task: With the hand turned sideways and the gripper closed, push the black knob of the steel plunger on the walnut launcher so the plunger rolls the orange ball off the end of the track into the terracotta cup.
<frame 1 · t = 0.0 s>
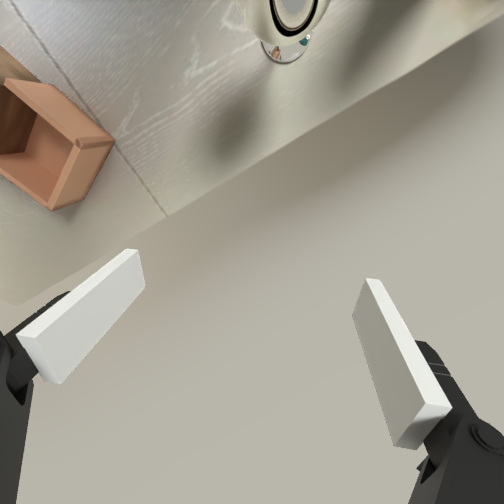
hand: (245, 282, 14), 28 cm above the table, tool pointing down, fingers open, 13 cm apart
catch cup: (70, 148, 40), on the table
wineglass: (286, 30, 30), on the table
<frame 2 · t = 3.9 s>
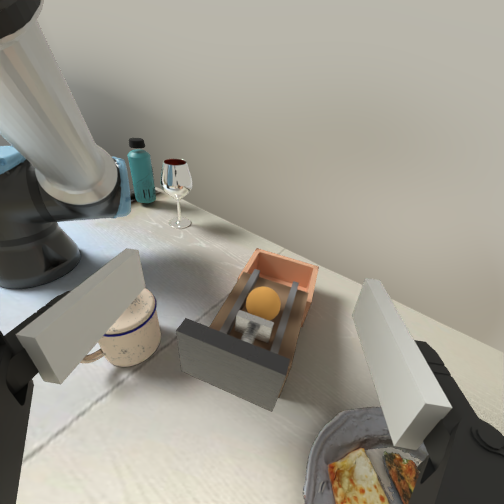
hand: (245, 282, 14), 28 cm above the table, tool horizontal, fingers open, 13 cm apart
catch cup: (274, 296, 52), on the table
launcher: (250, 358, 40), on the table
teacup with lid: (125, 349, 39), on the table
plunger: (244, 338, 26), point 14 cm above the table, slide at 0.0 cm
beverage bottle: (147, 203, 80), on the table
ball: (263, 303, 34), point 11 cm above the table, touching launcher
wineglass: (180, 223, 72), on the table
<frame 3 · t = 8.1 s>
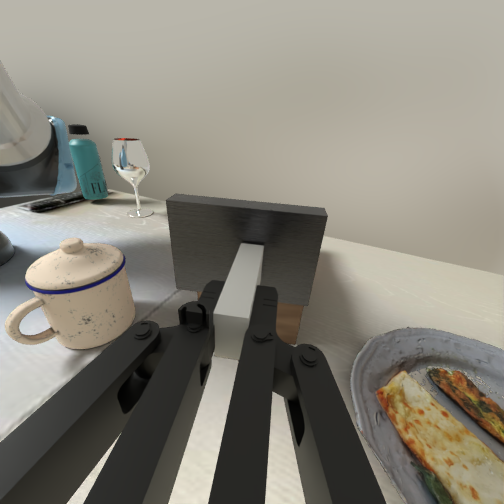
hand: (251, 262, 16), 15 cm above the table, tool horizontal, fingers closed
launcher: (251, 314, 33), on the table
teacup with lid: (88, 331, 29), on the table
plunger: (250, 242, 21), point 14 cm above the table, slide at 0.3 cm, touching gripper
beverage bottle: (97, 201, 70), on the table
wineglass: (140, 214, 64), on the table
food plate: (499, 457, 21), on the table
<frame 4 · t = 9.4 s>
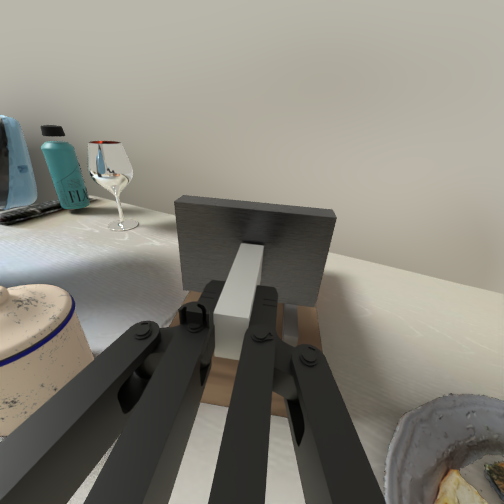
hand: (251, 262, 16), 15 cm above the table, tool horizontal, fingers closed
launcher: (245, 370, 26), on the table
teacup with lid: (28, 401, 22), on the table
plunger: (256, 243, 21), point 14 cm above the table, slide at 8.6 cm, touching gripper
beverage bottle: (78, 211, 63), on the table
wineglass: (123, 226, 57), on the table
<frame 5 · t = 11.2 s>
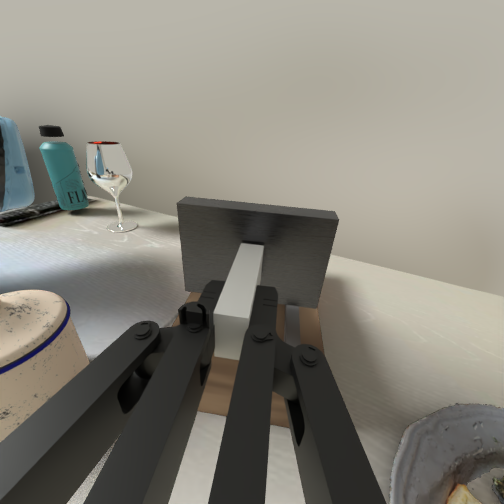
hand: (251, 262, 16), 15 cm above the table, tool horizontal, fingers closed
launcher: (245, 377, 25), on the table
teacup with lid: (22, 410, 21), on the table
plunger: (258, 244, 21), point 14 cm above the table, slide at 9.4 cm, touching gripper
beverage bottle: (77, 212, 63), on the table
wineglass: (122, 227, 56), on the table
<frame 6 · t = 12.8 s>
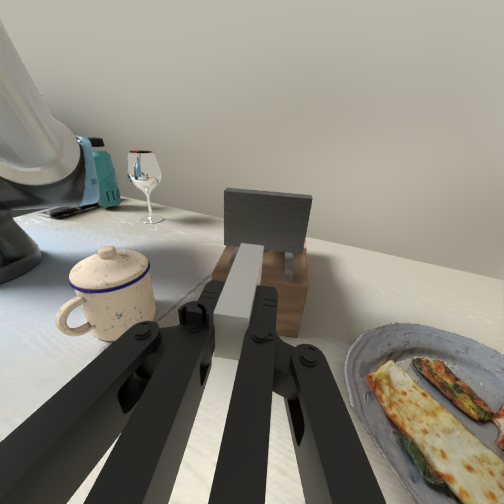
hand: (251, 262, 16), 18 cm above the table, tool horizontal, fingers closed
launcher: (258, 312, 37), on the table
teacup with lid: (116, 326, 34), on the table
plunger: (267, 219, 33), point 14 cm above the table, slide at 9.4 cm
beverage bottle: (111, 208, 75), on the table
wineglass: (151, 220, 68), on the table
food plate: (468, 429, 24), on the table
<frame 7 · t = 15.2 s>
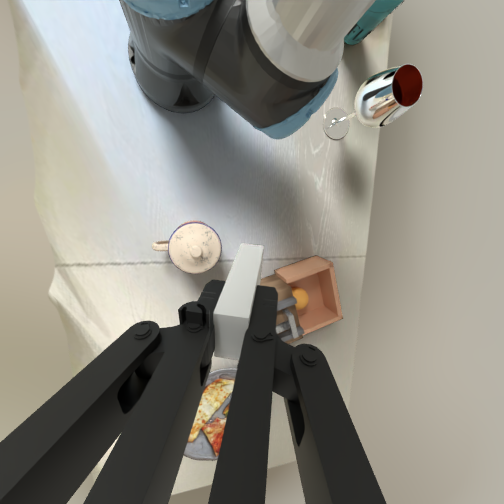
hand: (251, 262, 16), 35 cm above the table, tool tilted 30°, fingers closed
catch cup: (301, 288, 58), on the table
launcher: (241, 311, 55), on the table
teacup with lid: (187, 241, 49), on the table
plunger: (275, 339, 42), point 14 cm above the table, slide at 9.4 cm
beverage bottle: (346, 32, 49), on the table
ball: (297, 298, 54), point 3 cm above the table, tilted 83°, touching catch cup
wineglass: (335, 124, 52), on the table
food plate: (219, 408, 60), on the table
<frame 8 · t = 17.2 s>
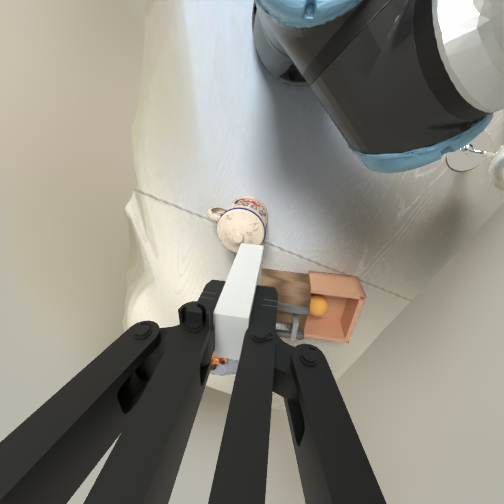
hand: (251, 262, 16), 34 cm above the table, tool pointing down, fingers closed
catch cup: (326, 297, 58), on the table
launcher: (263, 288, 60), on the table
teacup with lid: (241, 212, 51), on the table
plunger: (272, 335, 47), point 14 cm above the table, slide at 9.4 cm
ball: (316, 305, 56), point 3 cm above the table, tilted 80°, touching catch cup
wineglass: (467, 151, 40), on the table
food plate: (217, 343, 73), on the table
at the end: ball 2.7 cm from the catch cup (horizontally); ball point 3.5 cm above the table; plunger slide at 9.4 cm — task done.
